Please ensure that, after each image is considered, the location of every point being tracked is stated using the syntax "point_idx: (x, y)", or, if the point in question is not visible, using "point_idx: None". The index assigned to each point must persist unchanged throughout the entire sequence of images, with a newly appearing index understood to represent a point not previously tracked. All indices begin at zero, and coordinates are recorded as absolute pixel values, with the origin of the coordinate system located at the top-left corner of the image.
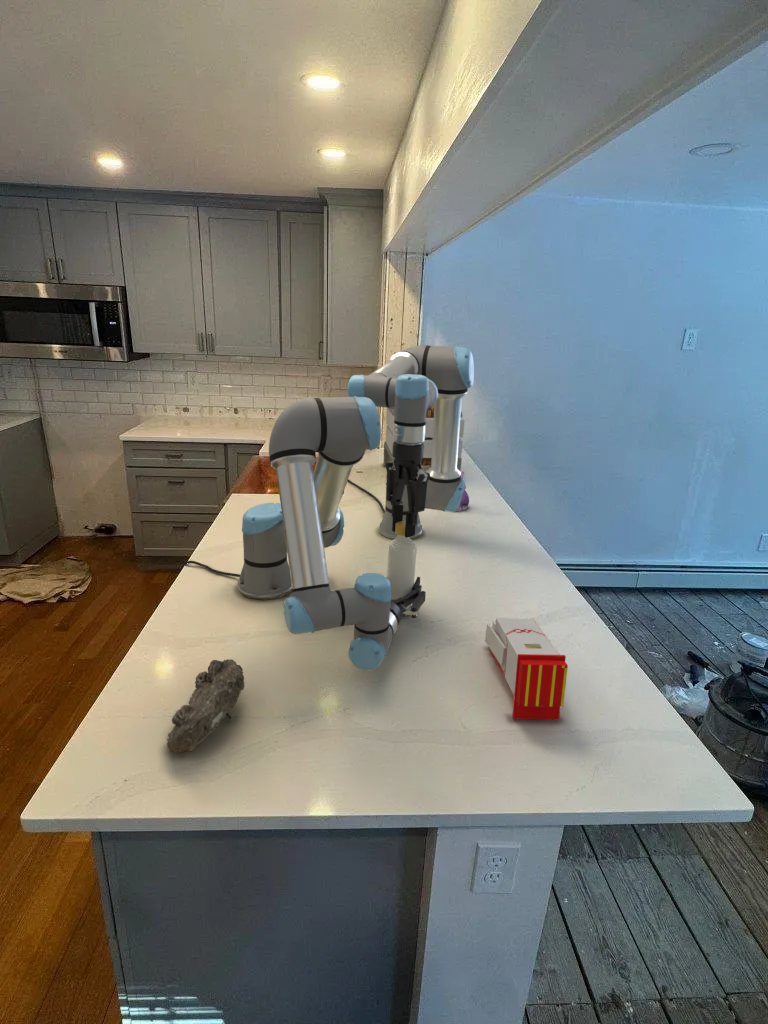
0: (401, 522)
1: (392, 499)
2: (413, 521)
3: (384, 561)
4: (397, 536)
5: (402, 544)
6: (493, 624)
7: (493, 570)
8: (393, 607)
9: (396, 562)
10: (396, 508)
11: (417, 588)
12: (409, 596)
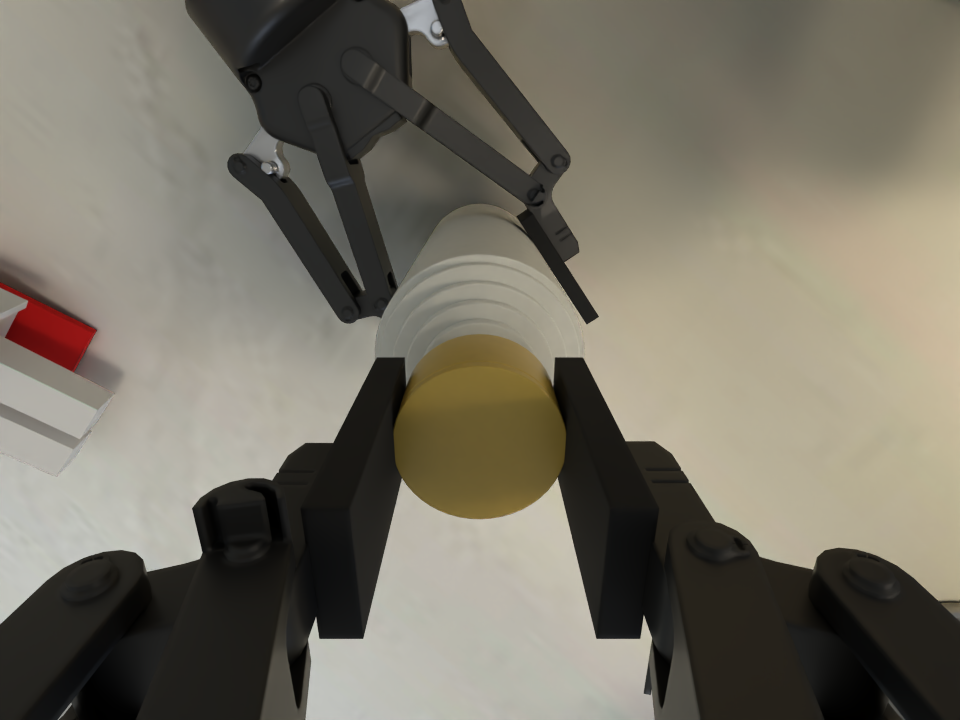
0: (531, 458)
1: (749, 601)
2: (277, 477)
3: (805, 471)
4: None
5: (425, 323)
6: (84, 396)
7: (487, 686)
8: (209, 2)
9: (439, 247)
10: (603, 516)
11: None
12: (346, 227)
